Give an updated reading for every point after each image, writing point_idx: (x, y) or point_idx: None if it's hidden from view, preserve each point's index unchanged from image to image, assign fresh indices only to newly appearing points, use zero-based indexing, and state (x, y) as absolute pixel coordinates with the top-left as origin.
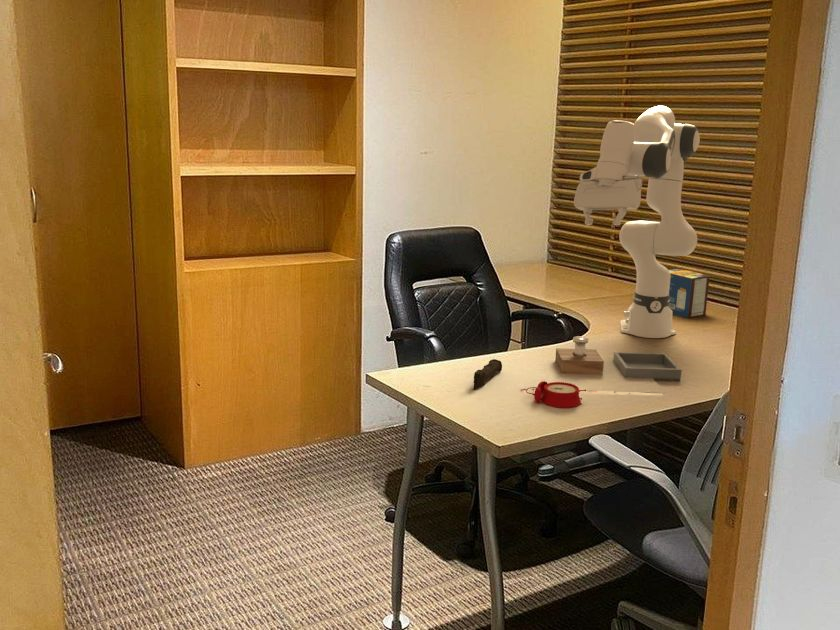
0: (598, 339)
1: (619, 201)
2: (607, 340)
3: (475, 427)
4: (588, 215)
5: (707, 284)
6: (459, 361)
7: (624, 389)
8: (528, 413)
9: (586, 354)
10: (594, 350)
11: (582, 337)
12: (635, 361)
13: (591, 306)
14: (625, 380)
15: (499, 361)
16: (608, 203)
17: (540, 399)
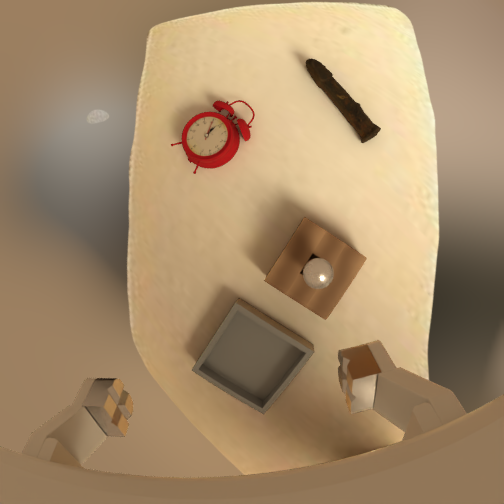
0: None
1: (5, 482)
2: None
3: (198, 19)
4: (398, 408)
5: None
6: (428, 124)
7: (206, 263)
8: (199, 81)
9: None
10: (321, 312)
11: (321, 281)
12: (288, 371)
13: None
14: (236, 297)
15: (367, 135)
16: (109, 496)
17: (214, 106)
